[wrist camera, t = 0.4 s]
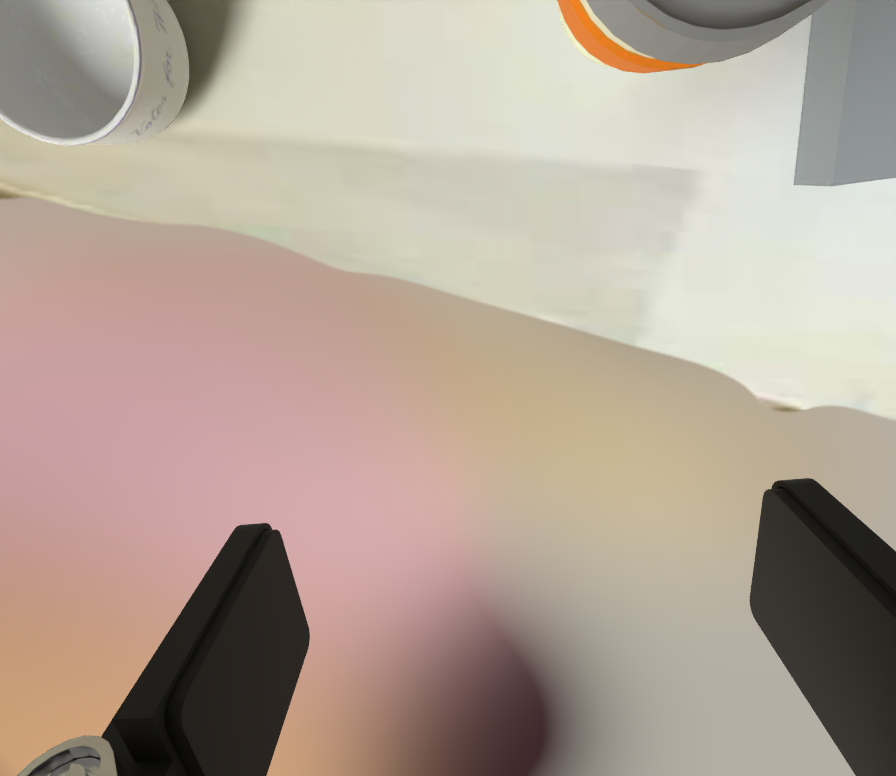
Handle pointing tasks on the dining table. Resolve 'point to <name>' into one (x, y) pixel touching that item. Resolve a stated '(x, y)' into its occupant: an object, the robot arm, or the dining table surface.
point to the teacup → (91, 69)
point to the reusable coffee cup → (675, 29)
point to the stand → (849, 95)
